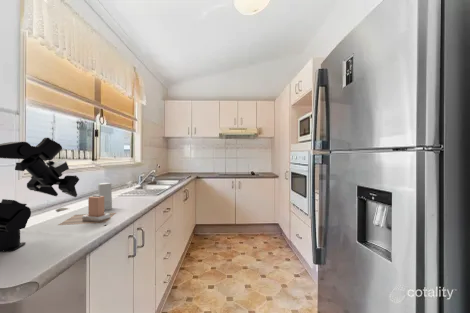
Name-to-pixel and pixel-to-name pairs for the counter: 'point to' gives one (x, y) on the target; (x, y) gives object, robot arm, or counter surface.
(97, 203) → the terracotta upright block
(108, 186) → the skincare box
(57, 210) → the soupspoon
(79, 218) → the walnut board
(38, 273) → the counter surface
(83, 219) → the steel collar
